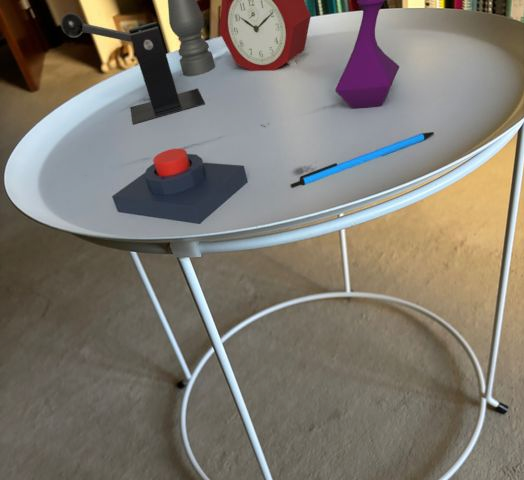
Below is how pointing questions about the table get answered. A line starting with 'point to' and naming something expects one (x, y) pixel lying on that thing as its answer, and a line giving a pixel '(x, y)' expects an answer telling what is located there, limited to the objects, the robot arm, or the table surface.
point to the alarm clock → (264, 31)
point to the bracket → (158, 78)
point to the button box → (182, 191)
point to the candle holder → (190, 37)
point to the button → (171, 162)
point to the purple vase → (367, 65)
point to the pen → (360, 159)
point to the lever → (89, 28)
